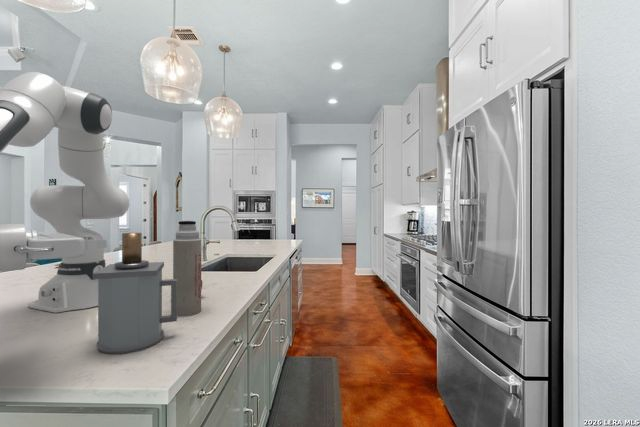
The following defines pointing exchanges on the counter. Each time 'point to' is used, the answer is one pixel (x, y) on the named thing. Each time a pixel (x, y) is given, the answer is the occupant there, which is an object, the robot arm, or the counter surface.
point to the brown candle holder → (131, 252)
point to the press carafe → (132, 307)
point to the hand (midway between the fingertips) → (99, 241)
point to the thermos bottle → (187, 268)
